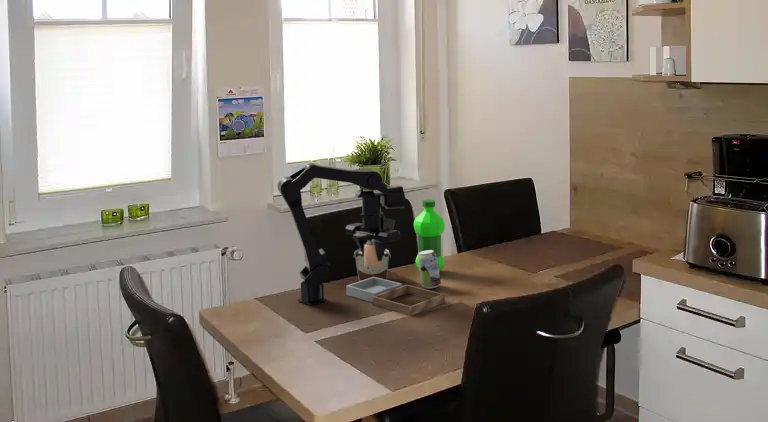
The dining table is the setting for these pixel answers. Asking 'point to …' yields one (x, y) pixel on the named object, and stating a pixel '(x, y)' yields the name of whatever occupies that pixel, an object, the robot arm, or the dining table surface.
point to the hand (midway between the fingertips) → (373, 259)
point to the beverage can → (428, 269)
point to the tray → (370, 288)
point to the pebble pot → (371, 255)
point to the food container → (371, 272)
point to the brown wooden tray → (385, 302)
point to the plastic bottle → (429, 231)
